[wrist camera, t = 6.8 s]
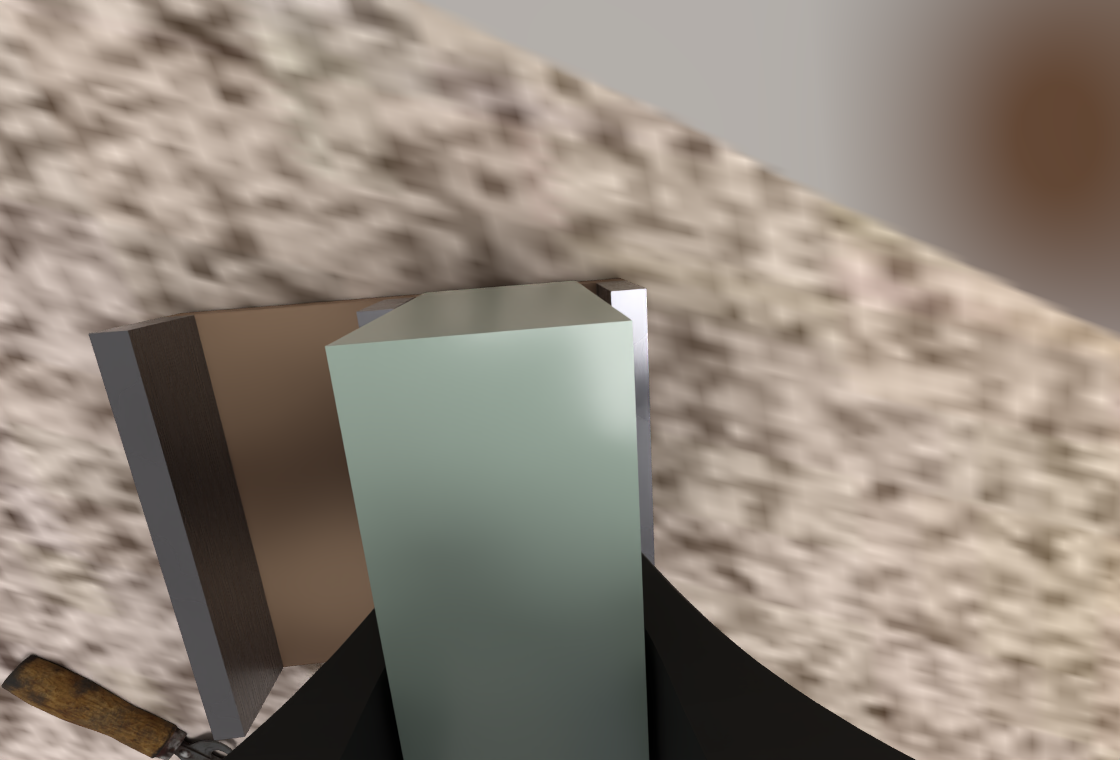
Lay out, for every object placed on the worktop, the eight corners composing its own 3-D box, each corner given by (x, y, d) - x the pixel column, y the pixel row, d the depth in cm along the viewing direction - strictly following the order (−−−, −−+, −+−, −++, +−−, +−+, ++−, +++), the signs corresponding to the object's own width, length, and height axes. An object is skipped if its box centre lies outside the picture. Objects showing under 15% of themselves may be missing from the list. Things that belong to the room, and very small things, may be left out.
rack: (634, 609, 18) (658, 687, 15) (269, 650, 17) (214, 740, 14) (620, 278, 15) (646, 288, 12) (180, 313, 14) (88, 333, 11)
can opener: (22, 664, 17) (-12, 694, 16) (66, 619, 17) (35, 646, 16) (253, 803, 19) (237, 838, 18) (296, 765, 19) (282, 798, 18)
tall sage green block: (575, 280, 11) (632, 320, 6) (599, 664, 14) (656, 963, 8) (425, 292, 11) (324, 346, 5) (478, 678, 14) (448, 994, 8)
